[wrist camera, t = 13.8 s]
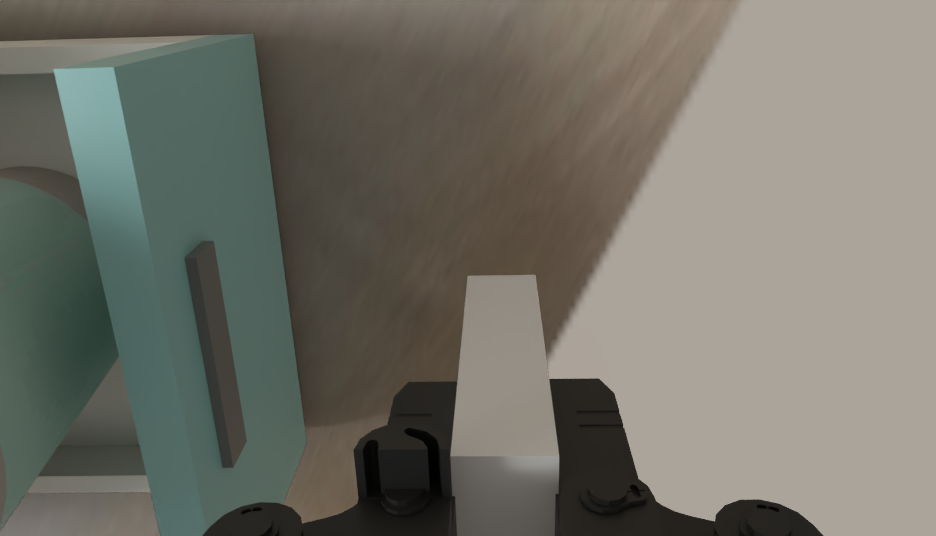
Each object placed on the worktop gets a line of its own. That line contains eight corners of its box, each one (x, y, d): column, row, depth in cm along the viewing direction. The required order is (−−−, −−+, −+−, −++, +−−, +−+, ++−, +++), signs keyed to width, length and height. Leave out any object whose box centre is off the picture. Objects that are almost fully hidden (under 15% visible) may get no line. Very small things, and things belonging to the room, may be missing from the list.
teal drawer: (-63, 446, 24) (-295, 645, 17) (-203, 47, 19) (-603, 87, 12) (314, 442, 24) (239, 643, 17) (262, 33, 19) (128, 66, 12)
